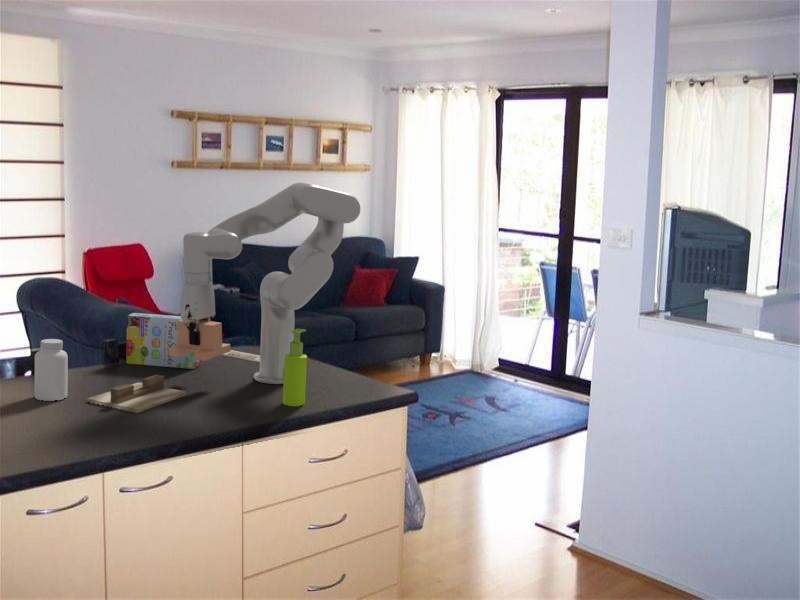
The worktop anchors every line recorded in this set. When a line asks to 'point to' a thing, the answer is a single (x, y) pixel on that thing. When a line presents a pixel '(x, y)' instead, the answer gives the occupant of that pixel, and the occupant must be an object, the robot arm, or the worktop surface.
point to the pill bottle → (51, 371)
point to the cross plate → (208, 341)
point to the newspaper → (243, 356)
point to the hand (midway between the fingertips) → (199, 342)
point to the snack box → (155, 341)
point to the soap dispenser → (295, 372)
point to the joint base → (138, 395)
